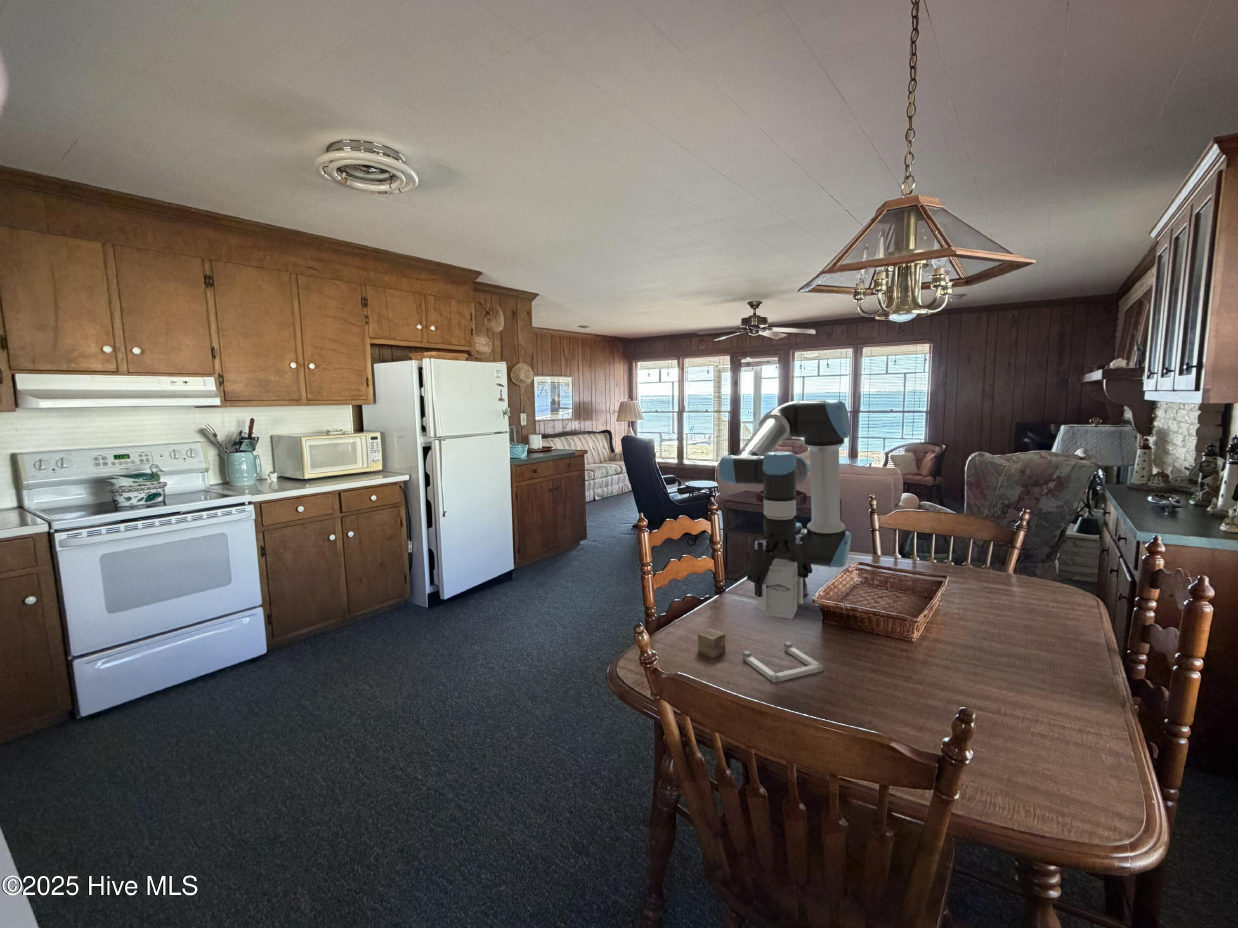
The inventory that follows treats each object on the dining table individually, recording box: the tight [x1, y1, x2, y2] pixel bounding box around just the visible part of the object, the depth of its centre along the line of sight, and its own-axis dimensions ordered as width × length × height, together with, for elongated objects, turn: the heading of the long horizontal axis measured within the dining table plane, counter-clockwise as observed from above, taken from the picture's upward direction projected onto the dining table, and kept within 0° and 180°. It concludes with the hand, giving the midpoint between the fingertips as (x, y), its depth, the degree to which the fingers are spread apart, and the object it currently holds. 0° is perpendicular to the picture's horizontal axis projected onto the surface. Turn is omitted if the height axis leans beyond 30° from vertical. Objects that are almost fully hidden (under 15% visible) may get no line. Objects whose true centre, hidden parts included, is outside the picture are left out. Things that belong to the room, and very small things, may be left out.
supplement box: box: [761, 559, 798, 620], centre depth 135 cm, size 7×7×13 cm
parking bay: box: [742, 641, 824, 684], centre depth 136 cm, size 14×13×2 cm
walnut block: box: [697, 628, 726, 659], centre depth 145 cm, size 5×5×5 cm
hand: (780, 605), depth 135 cm, fingers closed on supplement box, 10 cm apart
